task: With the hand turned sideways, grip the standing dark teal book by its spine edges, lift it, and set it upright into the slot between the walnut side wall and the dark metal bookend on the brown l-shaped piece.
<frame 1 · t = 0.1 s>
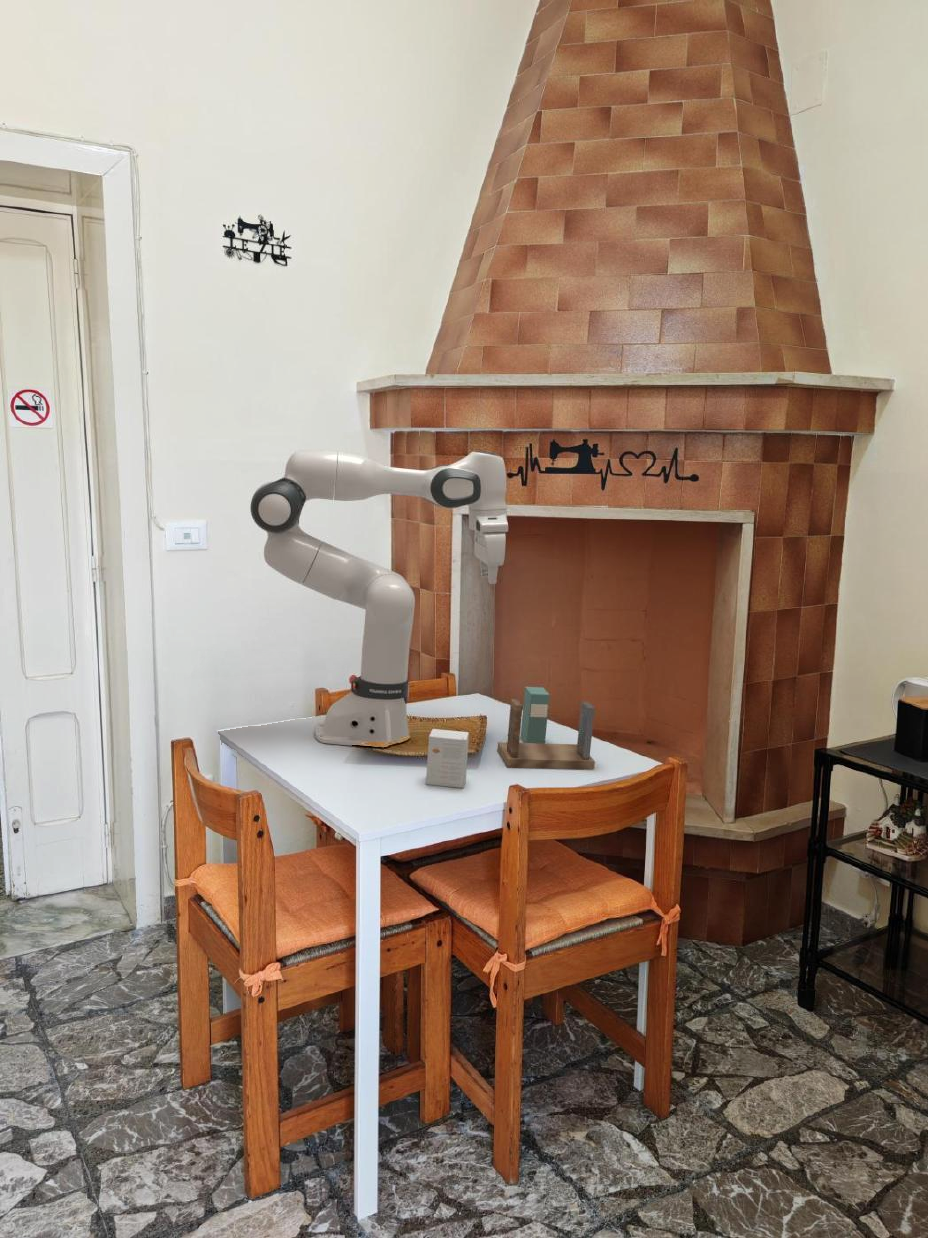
hand: (488, 580, 217), 39 cm above the table, tool pointing down, fingers open, 8 cm apart
small box: (445, 783, 193), on the table
brown l-shaped piece: (544, 759, 212), on the table
bookend: (582, 755, 211), resting on brown l-shaped piece
book: (532, 742, 225), on the table
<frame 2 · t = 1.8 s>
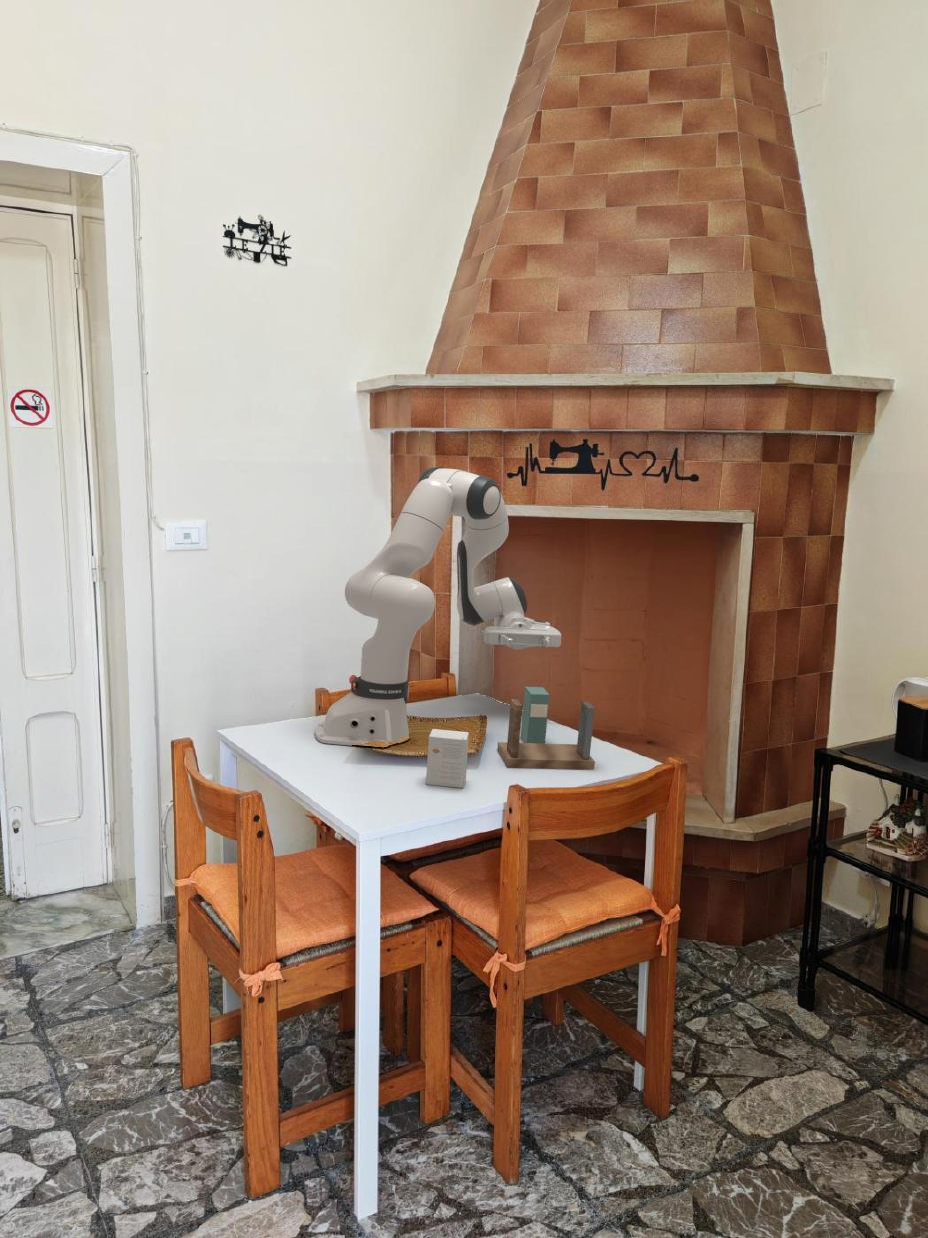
hand: (528, 643, 235), 22 cm above the table, tool horizontal, fingers open, 8 cm apart
nothing on the table moved.
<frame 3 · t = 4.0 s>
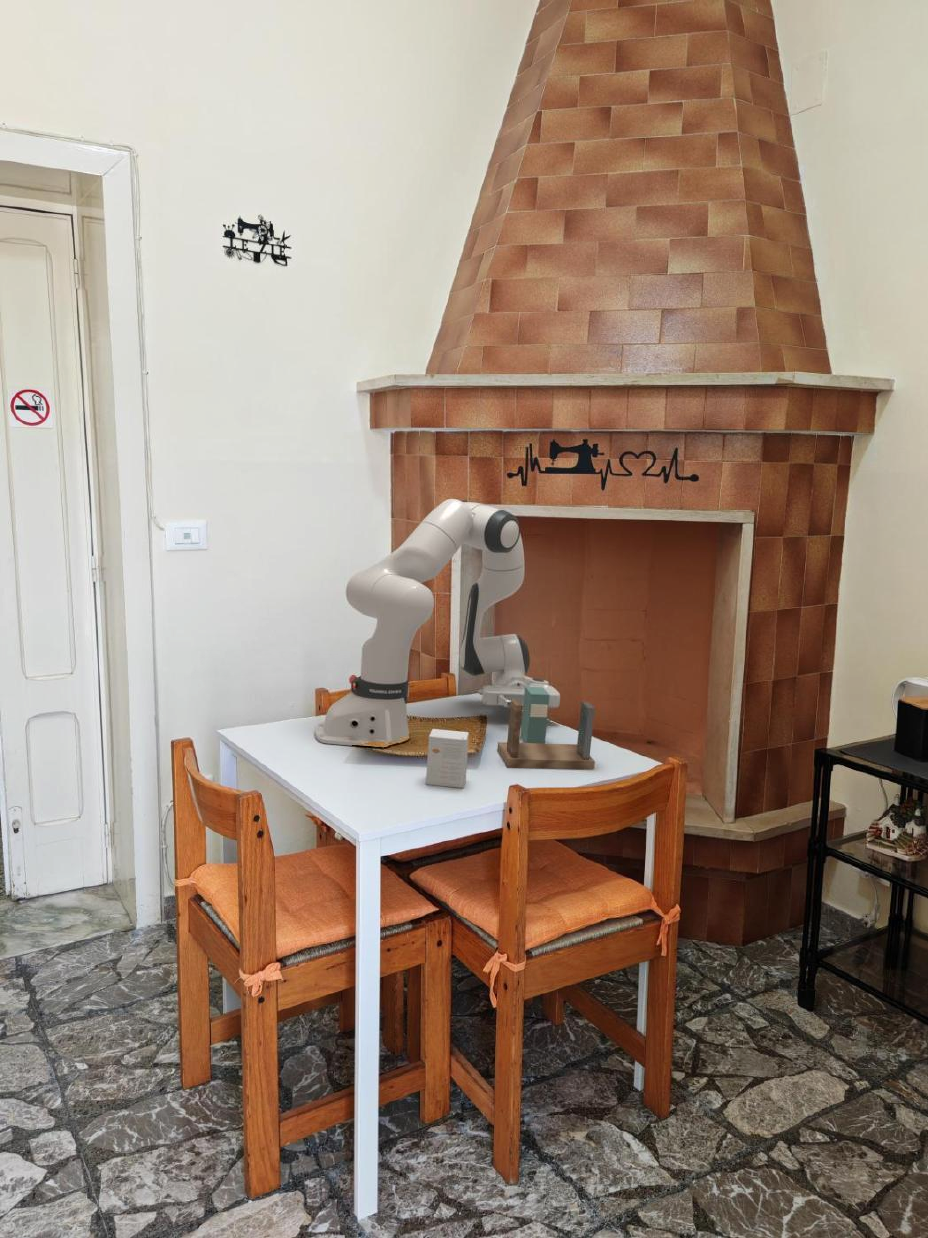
hand: (526, 704, 232), 7 cm above the table, tool horizontal, fingers open, 8 cm apart
nothing on the table moved.
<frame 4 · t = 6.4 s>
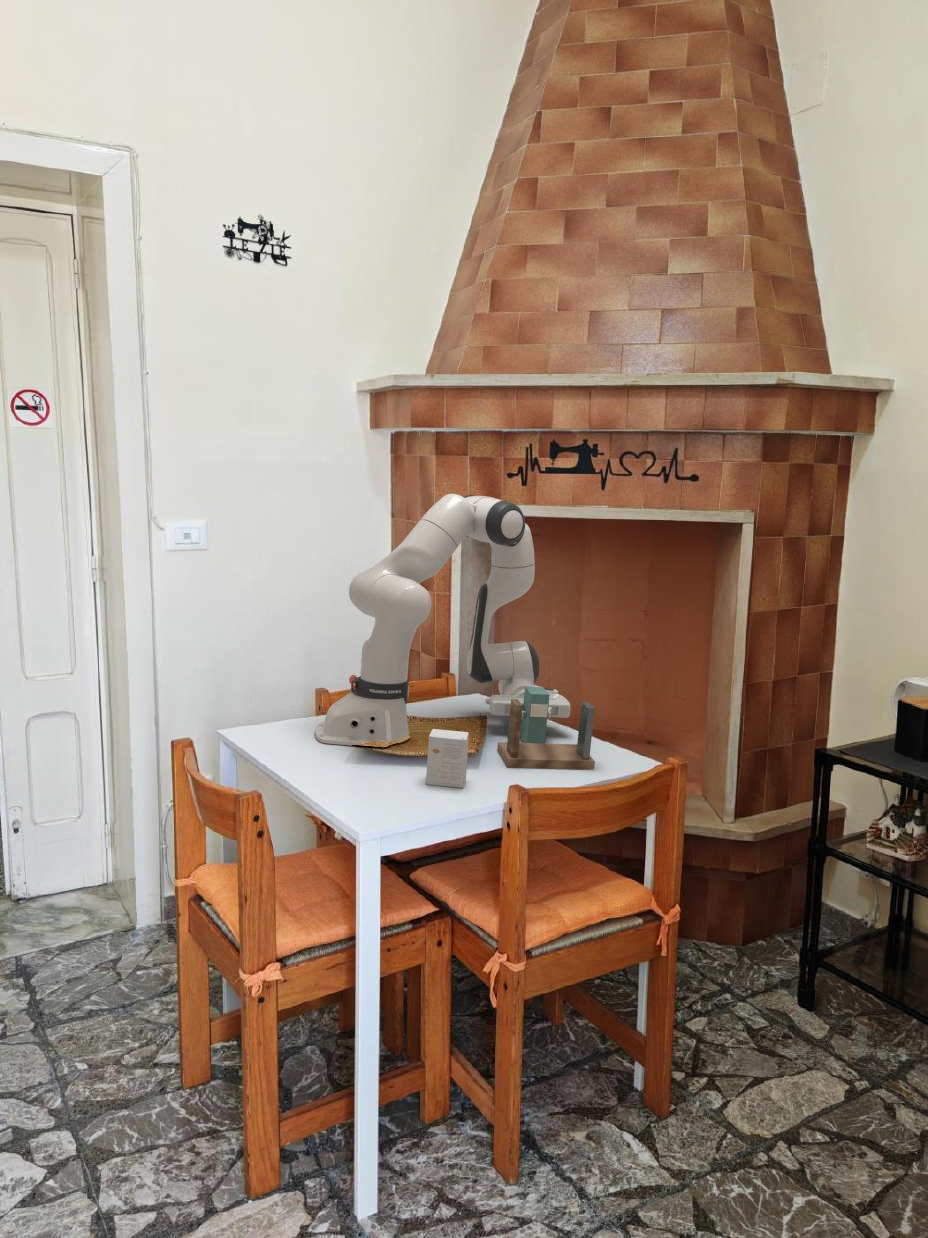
hand: (535, 715, 223), 7 cm above the table, tool horizontal, fingers closed on book, 4 cm apart
book: (532, 742, 225), on the table, touching gripper
everything else where it was.
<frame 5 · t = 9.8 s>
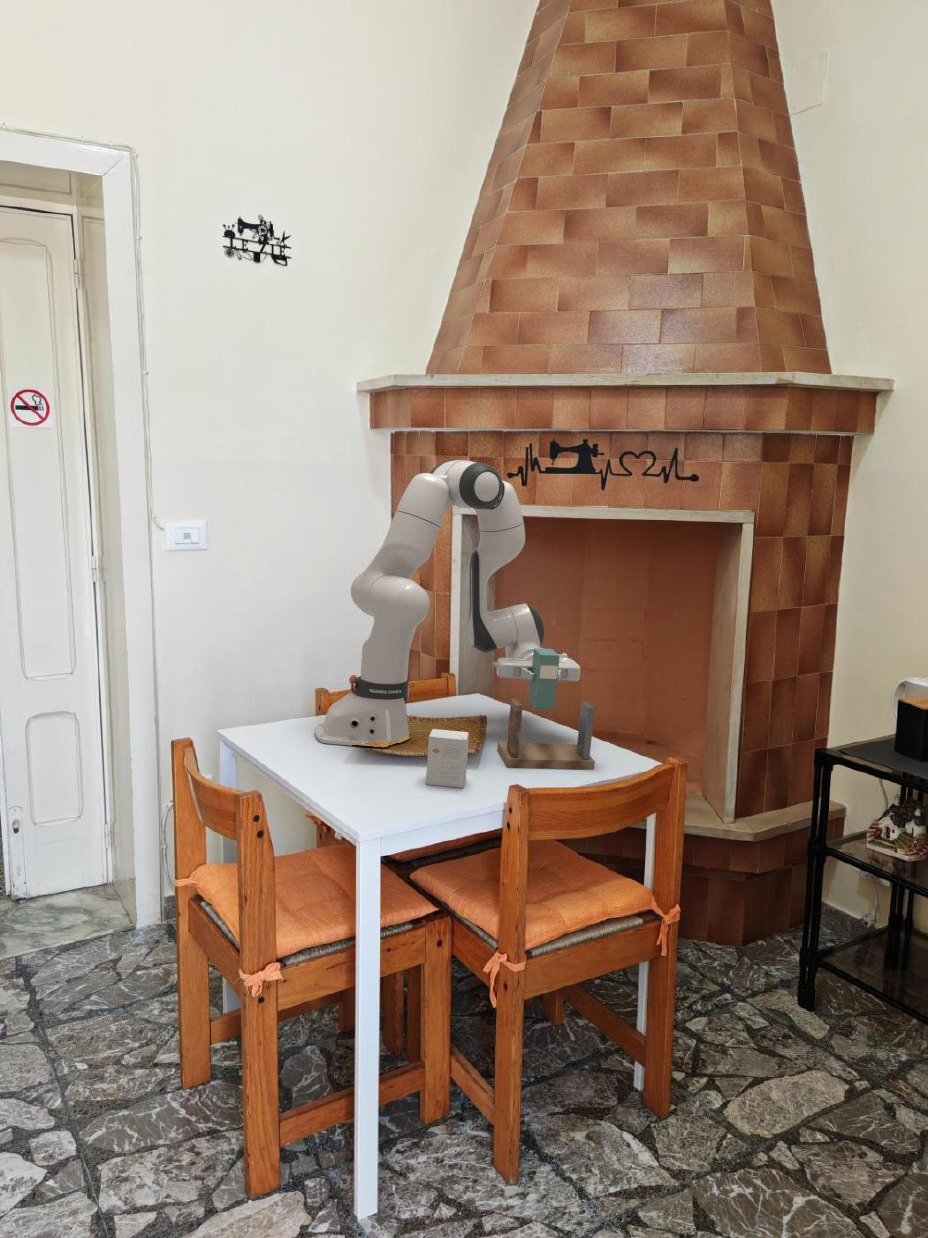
hand: (545, 677, 216), 18 cm above the table, tool horizontal, fingers closed on book, 4 cm apart
book: (541, 705, 218), point 11 cm above the table, touching gripper
everything else where it was.
when the fingers open (10 cm above the table, at t = 13.2 s): book drops 1 cm, resting on brown l-shaped piece.
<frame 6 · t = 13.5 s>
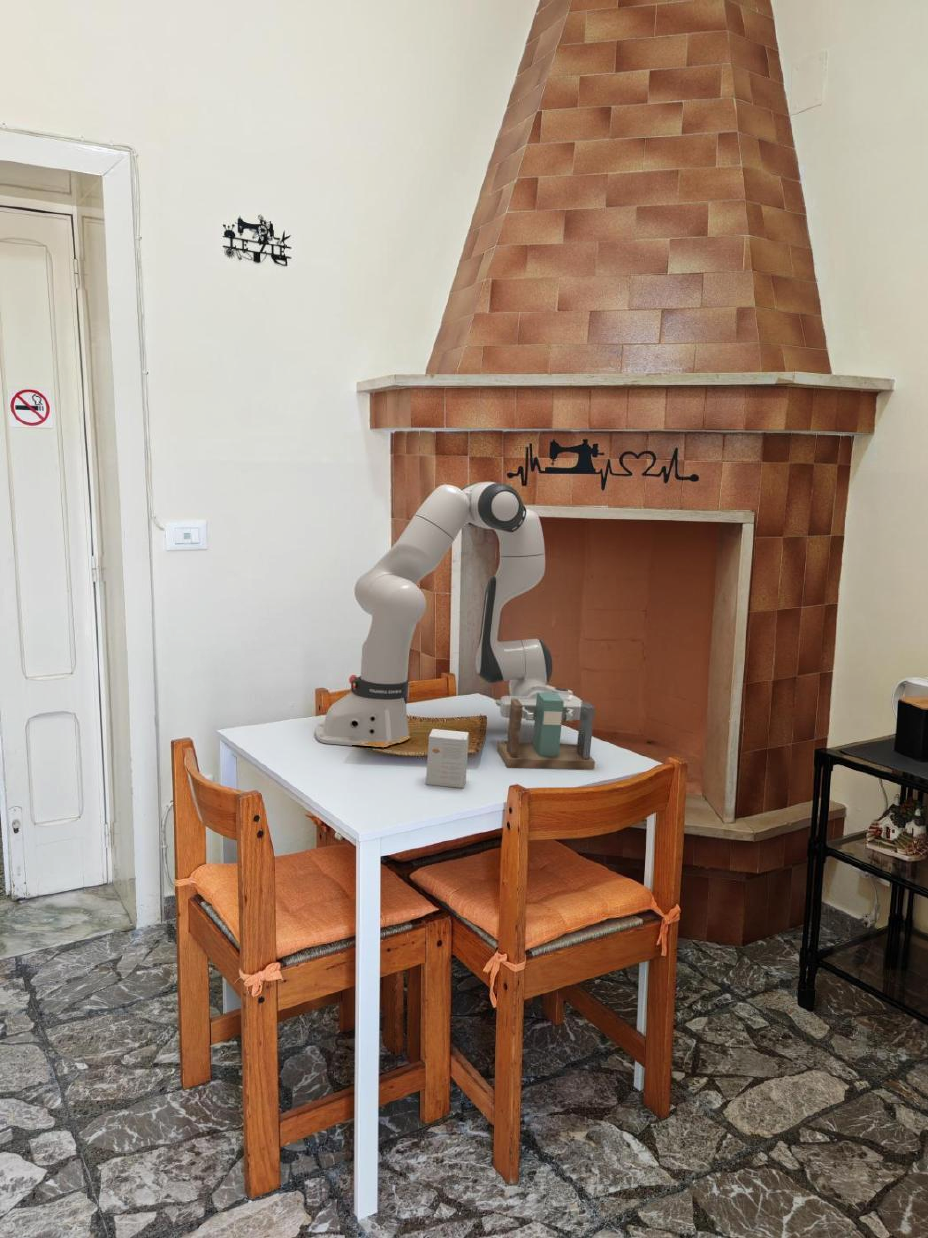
hand: (549, 717, 210), 10 cm above the table, tool horizontal, fingers open, 8 cm apart
book: (545, 751, 212), point 2 cm above the table, touching brown l-shaped piece
everything else where it was.
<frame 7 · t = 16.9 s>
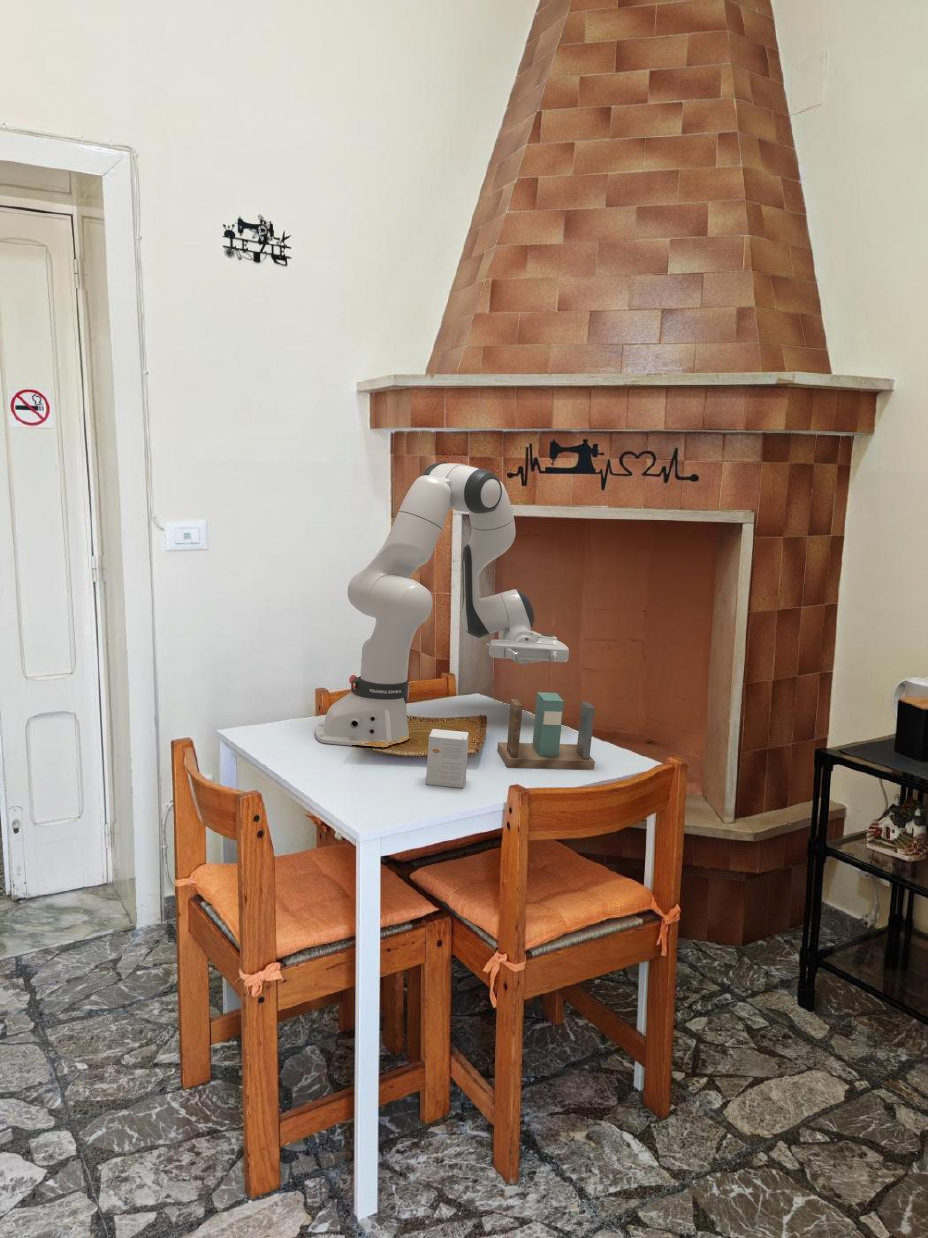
hand: (534, 657, 226), 20 cm above the table, tool horizontal, fingers open, 8 cm apart
nothing on the table moved.
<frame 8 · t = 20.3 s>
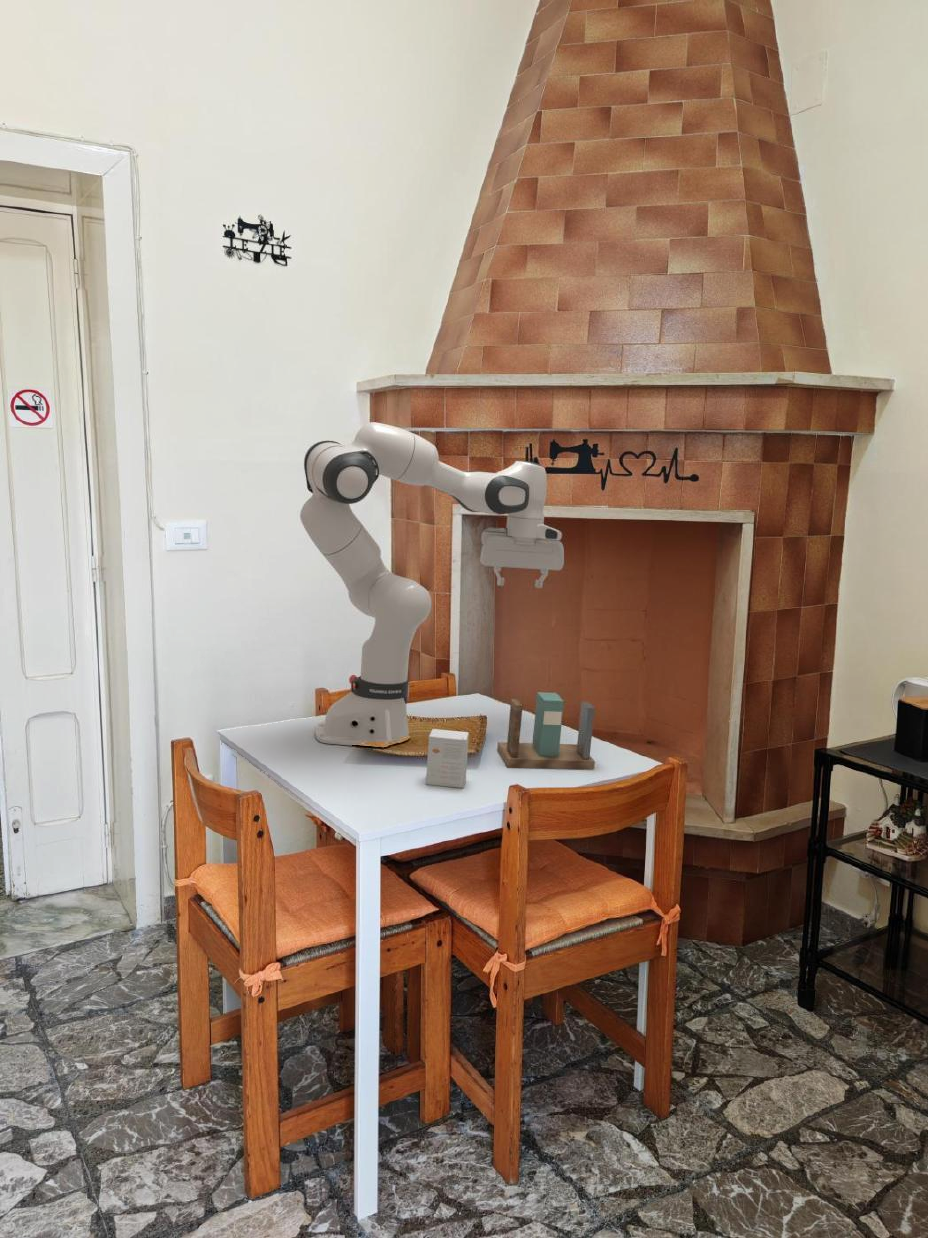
hand: (519, 586, 225), 37 cm above the table, tool pointing down, fingers open, 8 cm apart
nothing on the table moved.
at the end: book 0.1 cm off-centre on the brown l-shaped piece, point 2.0 cm above the brown l-shaped piece's base; book tilted 0°; the gripper is holding nothing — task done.
